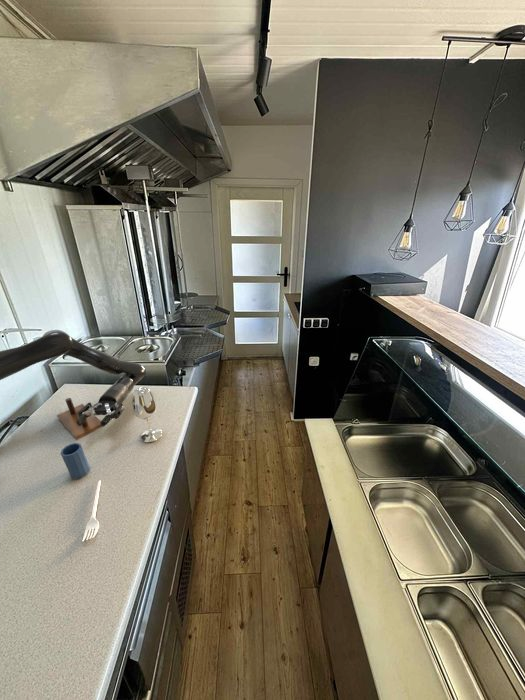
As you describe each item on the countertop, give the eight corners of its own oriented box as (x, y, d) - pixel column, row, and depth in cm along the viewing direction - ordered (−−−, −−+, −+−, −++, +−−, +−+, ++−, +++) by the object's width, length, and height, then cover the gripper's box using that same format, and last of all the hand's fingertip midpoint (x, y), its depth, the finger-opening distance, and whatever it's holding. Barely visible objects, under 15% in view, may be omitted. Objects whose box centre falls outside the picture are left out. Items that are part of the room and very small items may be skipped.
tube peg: (74, 481, 90) (64, 458, 86) (68, 473, 93) (58, 450, 89) (92, 470, 94) (83, 448, 89) (85, 462, 97) (76, 440, 92)
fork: (105, 480, 90) (104, 476, 90) (96, 541, 73) (94, 537, 73) (94, 483, 89) (92, 479, 89) (82, 546, 72) (80, 542, 72)
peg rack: (76, 439, 107) (69, 422, 103) (57, 418, 118) (50, 401, 115) (103, 425, 114) (98, 408, 110) (83, 406, 125) (77, 390, 121)
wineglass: (137, 435, 108) (125, 391, 100) (157, 425, 113) (147, 382, 104) (145, 446, 103) (133, 401, 94) (166, 435, 108) (156, 391, 99)
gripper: (94, 388, 111) (66, 415, 97) (130, 388, 110) (107, 416, 96) (100, 403, 114) (73, 432, 100) (134, 404, 113) (112, 433, 99)
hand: (90, 424), depth 98 cm, fingers open, 8 cm apart
